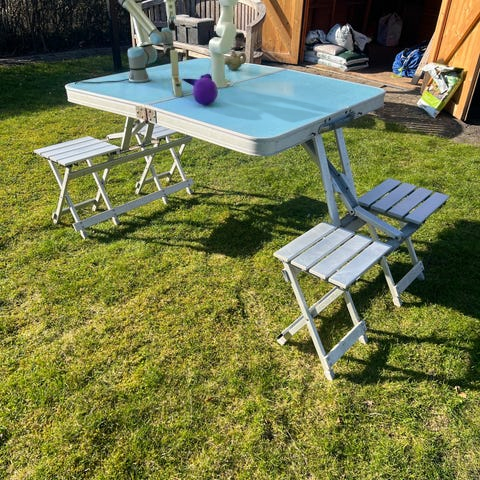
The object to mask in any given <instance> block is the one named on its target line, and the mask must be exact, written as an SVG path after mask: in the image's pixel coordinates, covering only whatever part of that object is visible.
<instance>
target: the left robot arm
mask: <svg viewBox="0 0 480 480" xmlns="http://www.w3.org/2000/svg"><path fill="white" fill-rule="evenodd" d="M118 3H119V4H120V5H121V7H122V8H123V9H126V10H127V12H128V13H129V14H130V15H131V20H132V24H133V28H134V31H135V35H136V40H137V45H136V46H132V47H129V48H128V49H127V57H128V66H129V76H128V78H125V79H119V80H106V81H105V80H104V81H81V80H78V81H75V82H74V83H75V84H74V85H76V84H79V83H82V84H103V83H120V82H125V81H126V82H127V81H128V82H129V83H133V84H141V83H148V82H150V76H149V73H148V71H147V67H146V65H148V64H152V63H154V62H155V61H157V59H159V60H162V61H163V60H164V59H165V58H167V59H168V60H171V55H170V50H171V47H175V46H174V33H173V31H170V29H169V27H162V28H161V31H159V28H157V26H156V25H154V23H153V22H152V21H151V20H150V18H149V17H148V16H147V15H146V13H145V12H144V11H143V8H142V5H143V0H118ZM161 44H162V48H163V49H162V50H163V52H162V51H161V52H159V53H158V50H157V48H156V47H154V46H159V45H161ZM153 45H154V46H153ZM173 50H174V49H173ZM178 58H181V59H182V60H183V59H184V58H187V52H184V51H178Z"/></svg>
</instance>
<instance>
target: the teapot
mask: <svg viewBox="0 0 480 480" xmlns="http://www.w3.org/2000/svg"><path fill="white" fill-rule="evenodd" d="M241 58H242V59H241ZM224 60H225V66H227V69H228V70H230V71H238V70H239V69H240V68H241V67H242V65H244V64H245V63H246V61H247V56H246V53H245V52H243V51H242V52H239V54H237V53H236V52H235V50H232V51H231V54H230V56H226V57H224Z"/></svg>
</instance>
